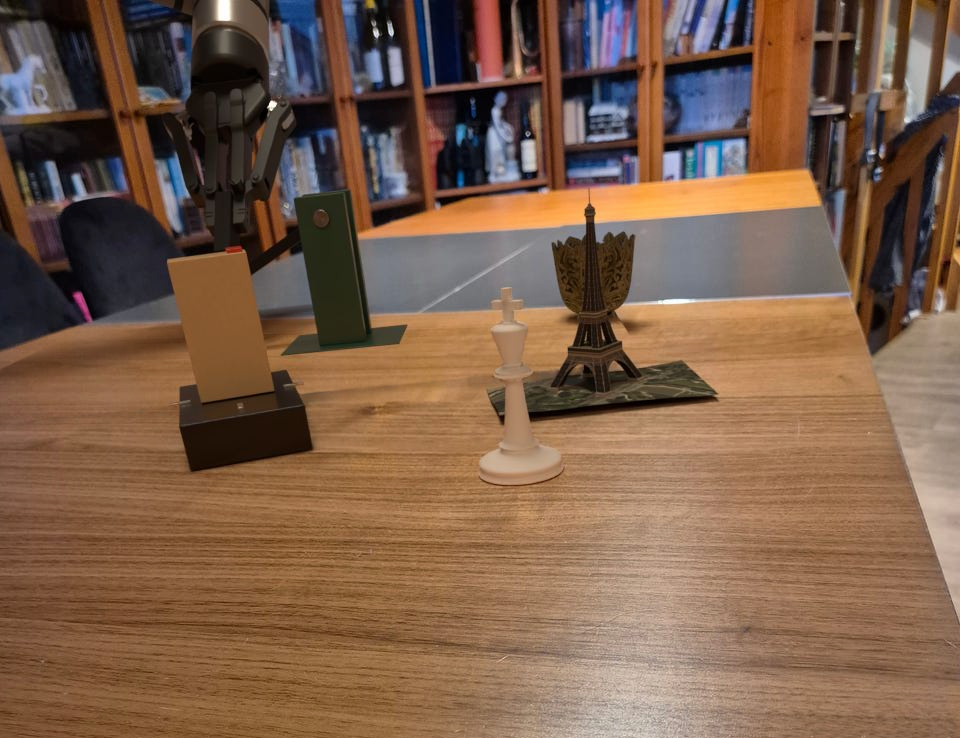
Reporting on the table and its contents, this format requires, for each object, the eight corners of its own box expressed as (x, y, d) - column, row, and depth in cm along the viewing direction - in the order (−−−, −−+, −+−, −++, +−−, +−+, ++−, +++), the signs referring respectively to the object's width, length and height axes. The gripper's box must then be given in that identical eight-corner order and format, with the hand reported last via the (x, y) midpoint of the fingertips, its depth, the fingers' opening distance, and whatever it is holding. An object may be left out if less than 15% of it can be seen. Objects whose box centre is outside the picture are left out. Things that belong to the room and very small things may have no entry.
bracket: (283, 367, 86) (250, 203, 79) (301, 347, 94) (272, 196, 87) (400, 355, 85) (378, 189, 78) (409, 336, 93) (388, 184, 86)
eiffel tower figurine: (496, 426, 62) (476, 206, 56) (486, 389, 71) (468, 197, 65) (719, 400, 62) (724, 179, 56) (680, 367, 71) (682, 173, 65)
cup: (550, 340, 85) (544, 245, 81) (563, 323, 91) (558, 235, 87) (632, 335, 83) (630, 239, 79) (640, 319, 89) (638, 228, 85)
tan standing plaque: (201, 403, 63) (165, 257, 59) (200, 397, 65) (166, 255, 60) (274, 391, 64) (245, 247, 60) (272, 385, 66) (243, 245, 61)
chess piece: (505, 454, 57) (489, 280, 52) (578, 460, 54) (569, 278, 49) (462, 481, 53) (441, 297, 48) (538, 489, 51) (525, 296, 46)
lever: (221, 305, 84) (204, 281, 83) (243, 291, 91) (227, 269, 90) (340, 223, 80) (323, 196, 79) (352, 215, 87) (337, 191, 86)
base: (181, 427, 70) (170, 385, 69) (302, 407, 72) (294, 365, 70) (181, 473, 60) (168, 425, 58) (322, 448, 62) (313, 400, 60)
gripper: (304, 84, 96) (306, 279, 89) (181, 99, 96) (174, 293, 90) (284, 17, 88) (284, 224, 82) (151, 34, 89) (140, 239, 83)
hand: (226, 259), depth 86 cm, fingers closed
